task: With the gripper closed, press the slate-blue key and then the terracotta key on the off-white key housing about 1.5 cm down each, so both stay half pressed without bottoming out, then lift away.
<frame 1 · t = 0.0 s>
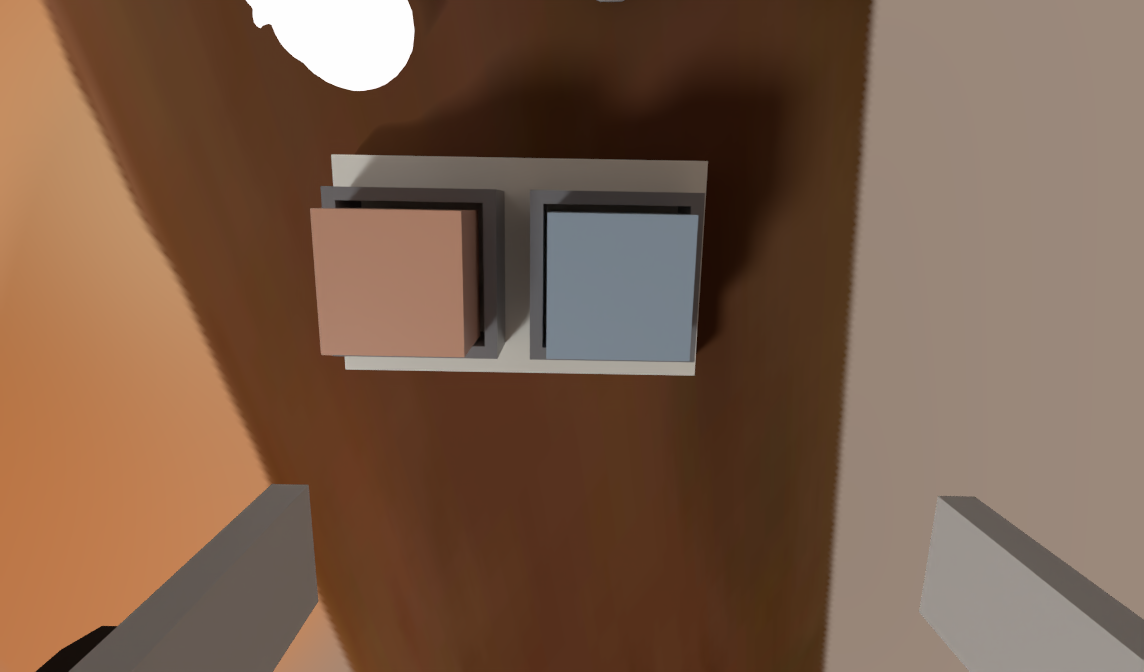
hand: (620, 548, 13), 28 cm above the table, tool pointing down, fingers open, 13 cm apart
figurine: (360, 31, 36), on the table
key housing: (523, 264, 39), on the table
terracotta key: (403, 278, 31), point 8 cm above the table, slide at 0.0 cm
slate blue key: (616, 282, 31), point 9 cm above the table, slide at 0.0 cm
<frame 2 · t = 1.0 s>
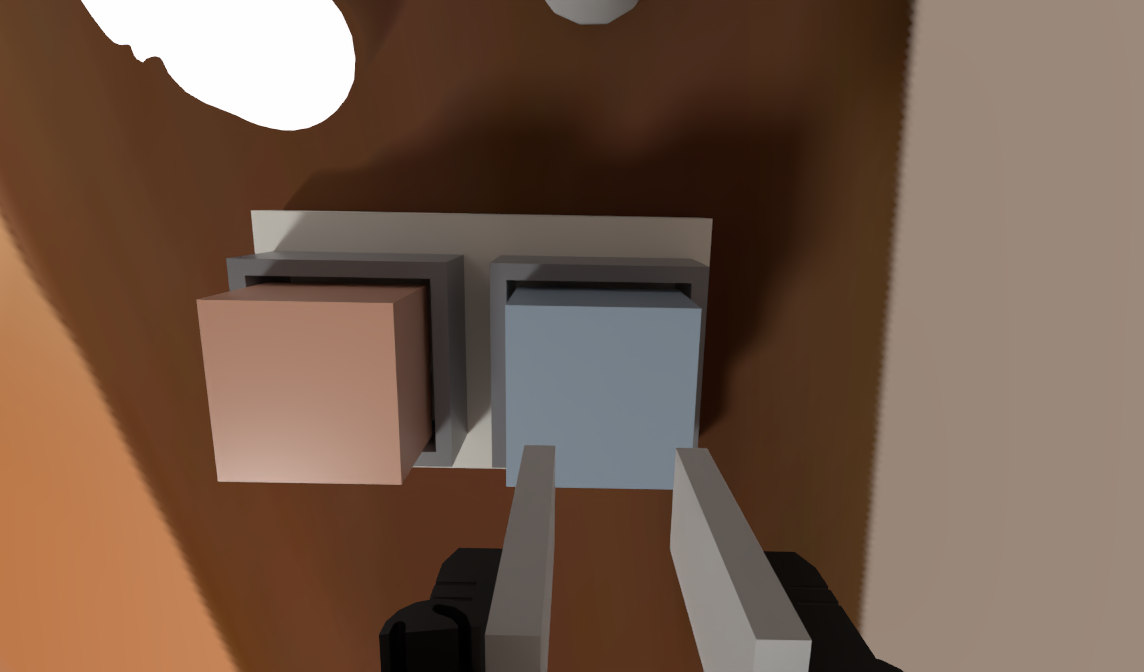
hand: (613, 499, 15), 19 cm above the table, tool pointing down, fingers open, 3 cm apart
figurine: (290, 58, 30), on the table
key housing: (491, 334, 33), on the table
terracotta key: (329, 376, 24), point 9 cm above the table, slide at 0.0 cm
slate blue key: (598, 381, 24), point 8 cm above the table, slide at 0.0 cm
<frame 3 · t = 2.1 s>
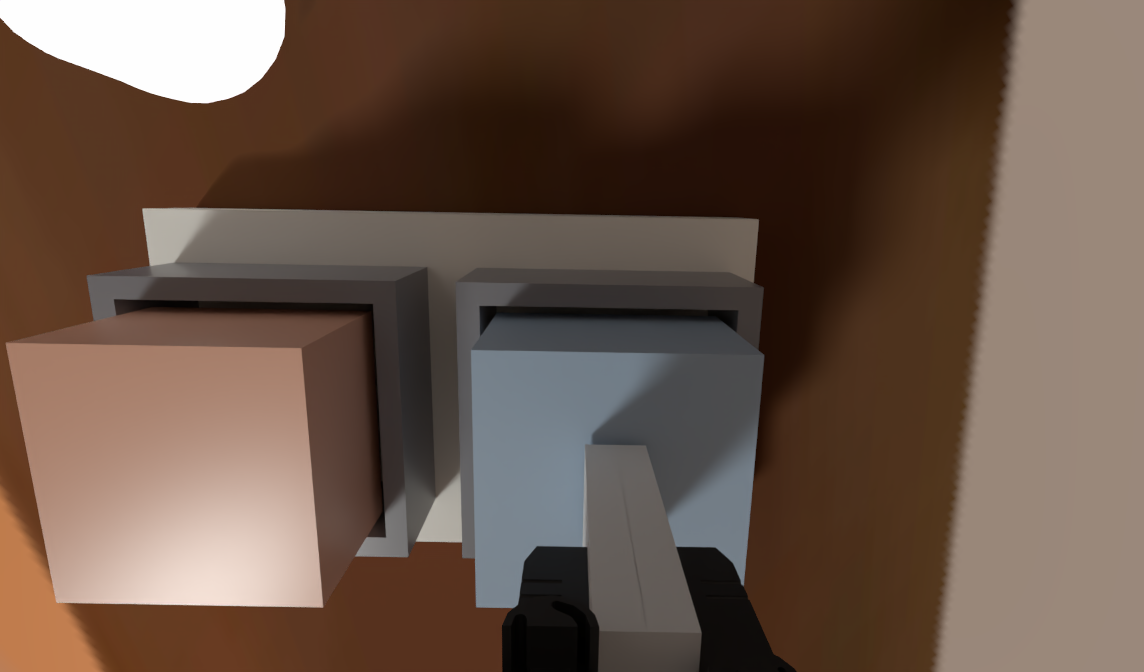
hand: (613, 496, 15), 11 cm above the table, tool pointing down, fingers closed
figurine: (200, 7, 23), on the table
key housing: (468, 367, 26), on the table
terracotta key: (229, 442, 17), point 9 cm above the table, slide at 0.0 cm
slate blue key: (607, 447, 17), point 8 cm above the table, slide at 0.1 cm, touching gripper
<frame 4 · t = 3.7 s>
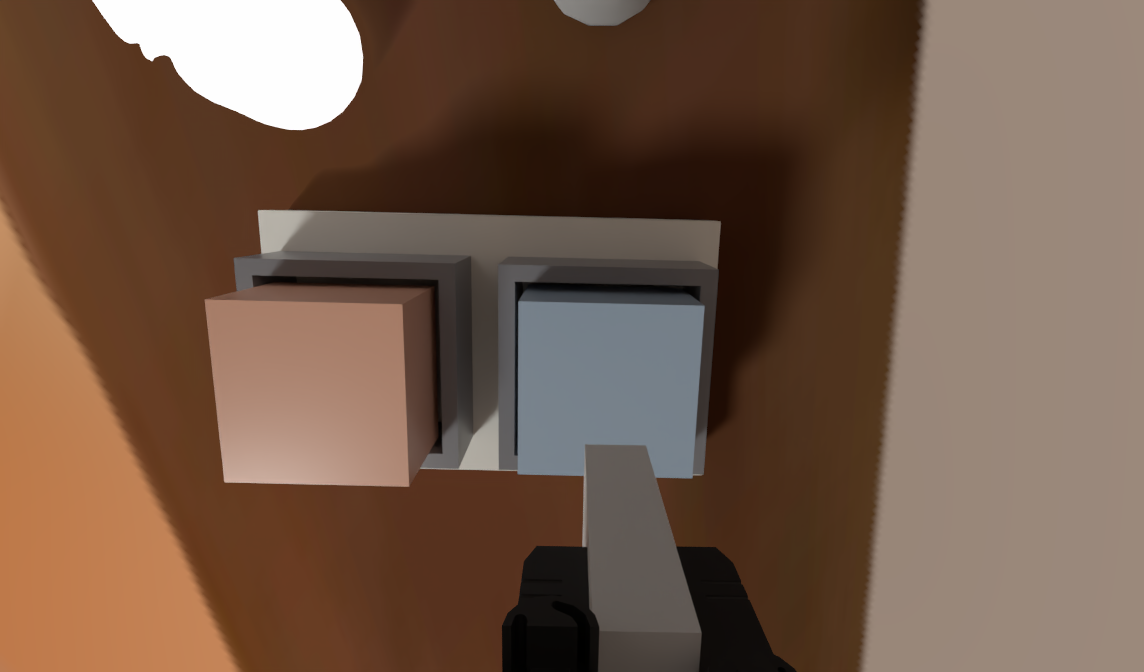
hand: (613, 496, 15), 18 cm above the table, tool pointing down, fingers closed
figurine: (298, 57, 30), on the table
key housing: (497, 336, 33), on the table
terracotta key: (336, 377, 24), point 8 cm above the table, slide at 0.0 cm
slate blue key: (604, 374, 26), point 7 cm above the table, slide at 1.3 cm
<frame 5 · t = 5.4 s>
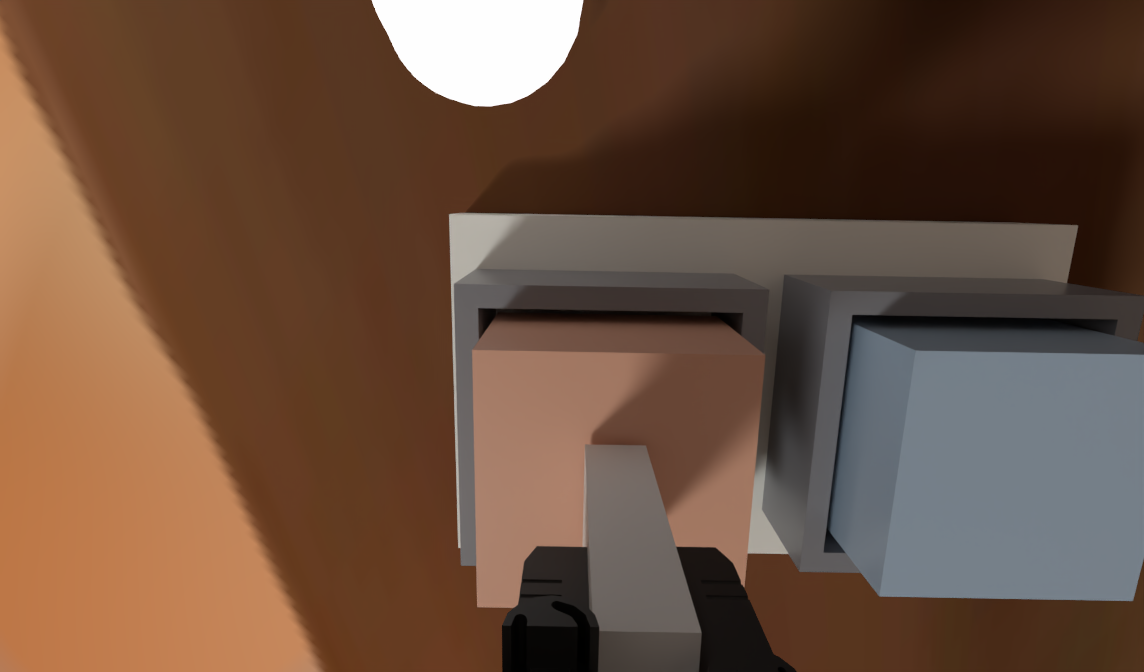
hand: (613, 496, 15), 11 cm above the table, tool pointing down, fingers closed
figurine: (488, 9, 22), on the table
key housing: (728, 374, 25), on the table
terracotta key: (608, 447, 17), point 8 cm above the table, slide at 0.5 cm, touching gripper
slate blue key: (968, 444, 18), point 7 cm above the table, slide at 1.3 cm
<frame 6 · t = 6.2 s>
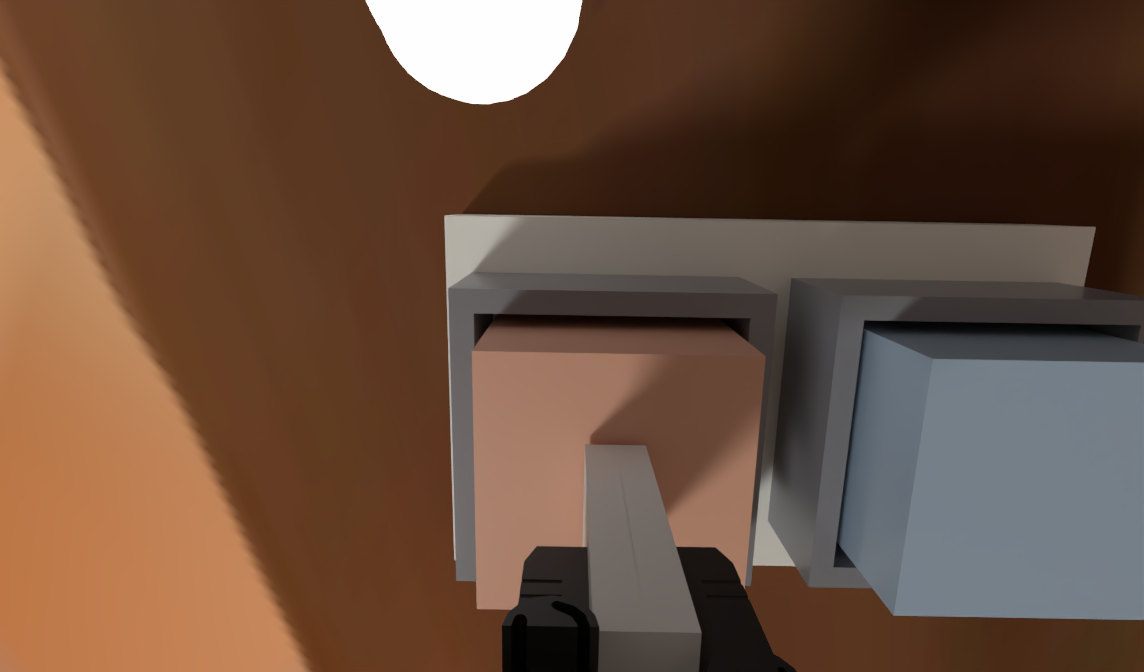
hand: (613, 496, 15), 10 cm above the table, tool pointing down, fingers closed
figurine: (484, 3, 22), on the table
key housing: (732, 380, 24), on the table
terracotta key: (608, 448, 17), point 7 cm above the table, slide at 1.2 cm, touching gripper
slate blue key: (984, 455, 17), point 7 cm above the table, slide at 1.3 cm
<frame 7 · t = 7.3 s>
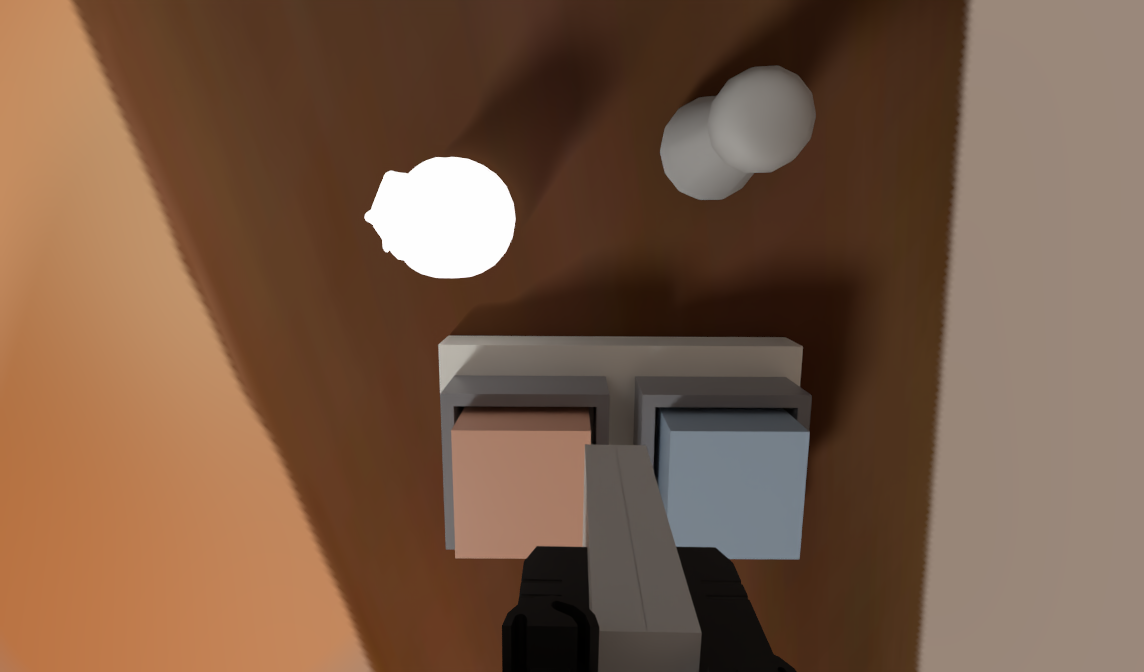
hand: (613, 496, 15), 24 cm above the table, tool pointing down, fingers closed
figurine: (461, 218, 38), on the table
key housing: (615, 431, 40), on the table
salt shaker: (700, 154, 37), on the table
terracotta key: (525, 475, 33), point 7 cm above the table, slide at 1.3 cm
slate blue key: (724, 476, 33), point 7 cm above the table, slide at 1.3 cm
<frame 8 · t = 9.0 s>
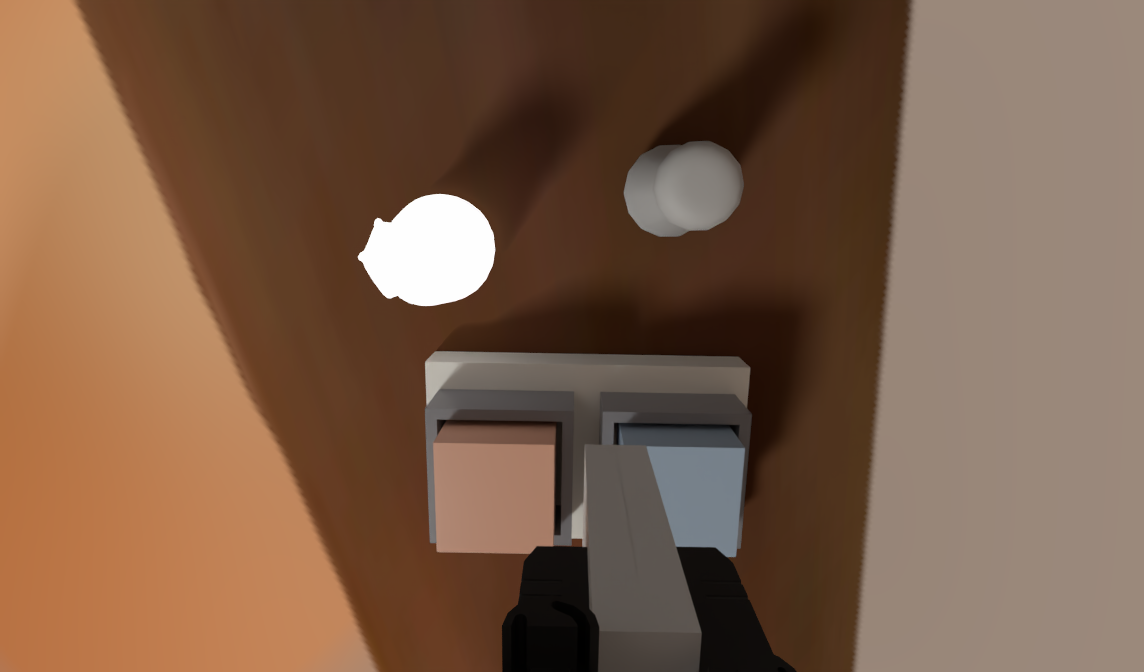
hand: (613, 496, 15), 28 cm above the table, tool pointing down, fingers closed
figurine: (446, 247, 42), on the table
key housing: (584, 438, 45), on the table
salt shaker: (663, 192, 41), on the table
terracotta key: (499, 480, 38), point 7 cm above the table, slide at 1.3 cm
slate blue key: (674, 483, 38), point 7 cm above the table, slide at 1.3 cm
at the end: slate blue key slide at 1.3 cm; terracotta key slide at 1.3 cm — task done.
